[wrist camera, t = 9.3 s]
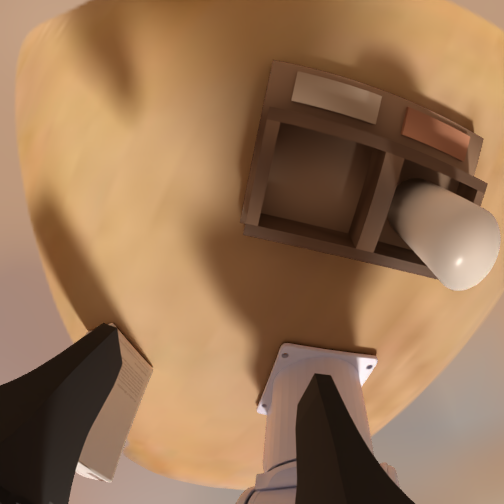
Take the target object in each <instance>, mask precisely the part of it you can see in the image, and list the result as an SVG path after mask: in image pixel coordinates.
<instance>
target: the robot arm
mask: <svg viewBox="0 0 504 504" xmlns="http://www.w3.org/2000/svg"><path fill="white" fill-rule="evenodd" d="M284 353H287V354H284ZM377 362H378V359H377V357H376V356H374V355H365V354H357V353H349V352H342V351H335V350H328V349H322V348H315V347H309V346H303V345H297V344H291V343H284V344H282V345H281V347H280V349H279V352H278V355H277V358H276V360H275V363H274V366H273V368H272V371H271V374H270V376H269V379H268V381H267V384H266V386H265V389H264V392H263V394H262V397H261V399H260V402H259V404H258V407H257V412H258V413H260V414H266V415H267V421H266V433H265V444H264V455H263V469H264V472H265V473H262V474H257V475H256V484H255V486H254V487H250V488H248V489H247V490H245V491H244V492H243V493H242V494H241V496H240V497H239V499H238V500H237V502H236V504H415V503H414V502H413V501H412V500H410V498H408V497H407V496H406V494H404V492H403V491H402V490H401V489H400V487H399V482H398V477H397V473H396V470H395V468H394V467H392V466H389V465H388V464H387V463H381V464H379V463H378V461H377V460H376V459H375V457H374V454H373V448H372V441H371V435H370V429H369V424H368V418H367V413H366V407H365V402H364V397H363V392H362V385H363V384H364V382H365V381H366V379H367V378H368V376H369V375H370V373H371V372H372V370H373V369H374V367H375V366H376V364H377ZM122 364H123V363H122V357H121V350H120V344H119V337H118V329H117V327H114V326H111V325H108V324H105V323H103V324H101V325H100V326H98V327H97V328H95V329H94V330H92V331H91V332H90V333H88V334H87V335H85V336H84V337H83V338H81V339H80V340H78V341H77V342H76V343H74V344H73V345H71V346H70V347H69V348H67V349H66V350H64V351H63V352H62V353H60V354H58V355H57V356H55V357H54V358H52V359H51V360H49V361H48V362H46V363H44V364H43V365H41V366H39V367H38V368H36V369H34V370H32V371H31V372H29V373H27V374H25V375H23V376H21V377H19V378H17V379H15V380H13V381H10V382H8V383H6V384H3V385H1V386H0V504H68V502H69V496H70V491H71V486H72V482H73V478H74V474H75V471H76V467H77V464H78V461H79V458H80V455H81V452H82V449H83V446H84V443H85V441H86V438H87V436H88V433H89V431H90V429H91V427H92V425H93V423H94V421H95V420H96V418H97V416H98V414H99V412H100V410H101V409H102V407H103V405H104V403H105V401H106V399H107V398H108V396H109V394H110V392H111V390H112V388H113V387H114V384H115V382H116V379H117V377H118V375H119V372H120V369H121V367H122ZM368 365H369V366H368Z"/></svg>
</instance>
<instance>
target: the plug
mask: <svg viewBox="0 0 504 504" xmlns="http://www.w3.org/2000/svg"><path fill="white" fill-rule="evenodd" d="M388 220H389V223H390V225H391V227H392V228H393V230H394V231H395V232H396V233H397V234H398V235H399V236H400V237H401V238H402V239H403V240H404V241H405V242H406V243H407V245H408V246H409V247H410V248H411V249H412V250H413V251H414V252H415V253H416V254H417V255H418V256H419V258H420V259H421V260H422V261H423V262H424V263H425V264H426V265H427V267H428V268H429V269H430V270H431V271H432V272H433V273H434V275H435V276H436V277H437V278H438V279H439V280H440V282H441V283H442V284H443V285H444V286H445V287H447V288H449V289H451V290H456V291H461V290H466V289H469V288H471V287H473V286H475V285H477V284H478V283H479V282H481V281H482V280H483V279H484V278H485V277H486V276H487V274H488V273H489V272H490V270H491V269H492V267H493V265H494V263H495V261H496V259H497V256H498V253H499V248H500V229H499V226H498V223H497V221H496V219H495V217H494V216H493V215H492V214H491V213H490V212H489V211H487V210H485V209H484V208H482V207H480V206H478V205H476V204H474V203H472V202H470V201H468V200H467V199H465V198H463V197H461V196H459V195H457V194H455V193H452V192H450V191H448V190H446V189H444V188H442V187H440V186H438V185H436V184H433V183H431V182H429V181H427V180H424V179H421V178H411V179H408V180H405V181H404V182H402V183H401V184H399V185H398V186H397V187H396V189H395V193H394V196H393V199H392V202H391V205H390V208H389V211H388Z"/></svg>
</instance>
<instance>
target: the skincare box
mask: <svg viewBox="0 0 504 504" xmlns="http://www.w3.org/2000/svg"><path fill="white" fill-rule="evenodd" d="M108 325H111V326H114V327H116V326H115V325H114V324H113V323H110V324H108ZM117 329H118V328H117ZM91 331H92V330H91ZM91 331H89V332H87V333H86V335H87V334H88V333H90V332H91ZM118 337H119V344H120V350H121V357H122V363H123V364H122V367H121V369H120V372H119V375H118V377H117V379H116V382H115V384H114V387H113V388H112V390H111V392H110V394H109V396H108V398H107V399H106V401H105V403H104V405H103V407H102V409H101V410H100V412H99V414H98V416H97V418H96V420H95V421H94V423H93V425H92V427H91V429H90V431H89V433H88V436H87V438H86V441H85V443H84V446H83V449H82V452H81V455H80V458H79V461H78V464H77V467H76V472H77V473H78V474H80V475H82V476H84V477H87V478H91V479H96V480H100V481H105V482H112V480H113V477H114V474H115V470H116V467H117V464H118V462H119V459H120V456H121V453H122V450H123V448H124V445H125V442H126V439H127V437H128V434H129V431H130V428H131V426H132V423H133V420H134V418H135V415H136V413H137V410H138V407H139V405H140V402H141V400H142V397H143V394H144V392H145V389H146V387H147V384H148V382H149V379H150V377H151V375H152V372H153V368H152V367H151V366H150V365H149V364H148V363H147V362H146V361H145V359H144V358H143V357H142V356H141V355H140V354H139V353H138V352H137V351H136V349H135V348H134V347H133V346H132V345H131V344H130V343H129V341H128V340H127V339H126V338H125V337H124V336H123V334H122V333H121V332H120V331H119V330H118Z"/></svg>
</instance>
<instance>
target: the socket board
mask: <svg viewBox="0 0 504 504" xmlns="http://www.w3.org/2000/svg"><path fill="white" fill-rule="evenodd" d="M482 143H483V138H482V137H480V136H478V135H477V134H475V133H473V132H471V131H470V130H468V129H466V128H464V127H462V126H461V125H459V124H457V123H455V122H453V121H451V120H449V119H447V118H445V117H443V116H441V115H439V114H437V113H435V112H433V111H431V110H429V109H427V108H425V107H422V106H420V105H418V104H416V103H413V102H411V101H409V100H406V99H404V98H402V97H399V96H397V95H394V94H392V93H389V92H386V91H384V90H381V89H378V88H376V87H373V86H370V85H367V84H364V83H361V82H358V81H355V80H352V79H349V78H345V77H342V76H339V75H335V74H332V73H328V72H325V71H321V70H317V69H313V68H309V67H305V66H300V65H296V64H291V63H287V62H282V61H277V60H273V63H272V68H271V72H270V77H269V82H268V86H267V91H266V96H265V100H264V105H263V110H262V115H261V119H260V124H259V129H258V134H257V139H256V144H255V149H254V154H253V158H252V163H251V168H250V173H249V178H248V184H247V189H246V194H245V199H244V204H243V209H242V214H241V219H240V223H243V224H245V228H244V233H243V235H247V236H251V237H256V238H260V239H265V240H270V241H274V242H279V243H283V244H288V245H292V246H297V247H301V248H306V249H310V250H314V251H319V252H323V253H328V254H332V255H336V256H341V257H345V258H350V259H354V260H358V261H362V262H367V263H371V264H375V265H380V266H384V267H388V268H392V269H397V270H401V271H405V272H409V273H413V274H417V275H422V276H426V277H430V278H434V279H438V278H437V277H436V276H435V275H434V273H433V272H432V271H431V270H430V269H429V268H428V267H427V265H426V264H425V263H424V262H423V261H422V260H421V259H420V258H419V256H418V255H417V254H416V253H415V252H414V251H413V250H412V249H411V248H410V247H409V246H408V245H407V243H406V242H405V241H404V240H403V239H402V238H401V237H400V236H399V235H398V234H397V233H396V232H395V231H394V230H393V228H392V227H391V225H390V223H389V220H388V211H389V208H390V205H391V202H392V199H393V196H394V193H395V189H396V187H397V186H398V185H399V184H401V183H402V182H404V181H405V180H408V179H411V178H421V179H424V180H427V181H429V182H431V183H433V184H436V185H438V186H440V187H442V188H444V189H446V190H448V191H450V192H452V193H455V194H457V195H459V196H461V197H463V198H465V199H467V200H468V201H470V202H472V203H474V204H476V205H478V206H481V203H482V200H483V197H484V194H485V190H486V187H487V183H485V182H484V181H482V180H480V179H478V178H476V177H474V174H475V171H476V167H477V163H478V159H479V156H480V152H481V147H482ZM438 280H439V279H438Z"/></svg>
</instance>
